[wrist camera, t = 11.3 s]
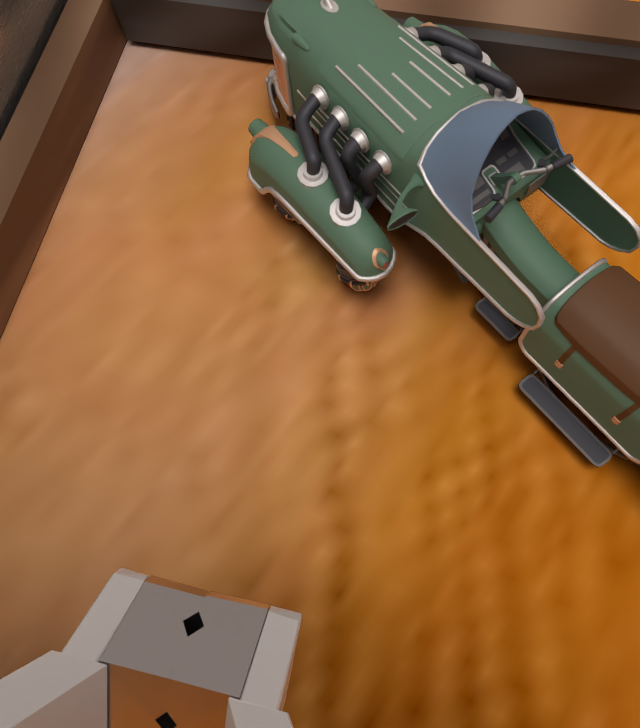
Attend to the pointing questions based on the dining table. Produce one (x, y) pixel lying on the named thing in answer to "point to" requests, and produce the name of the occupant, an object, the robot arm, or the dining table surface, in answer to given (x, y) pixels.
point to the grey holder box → (22, 47)
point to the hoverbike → (452, 195)
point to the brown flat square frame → (248, 38)
